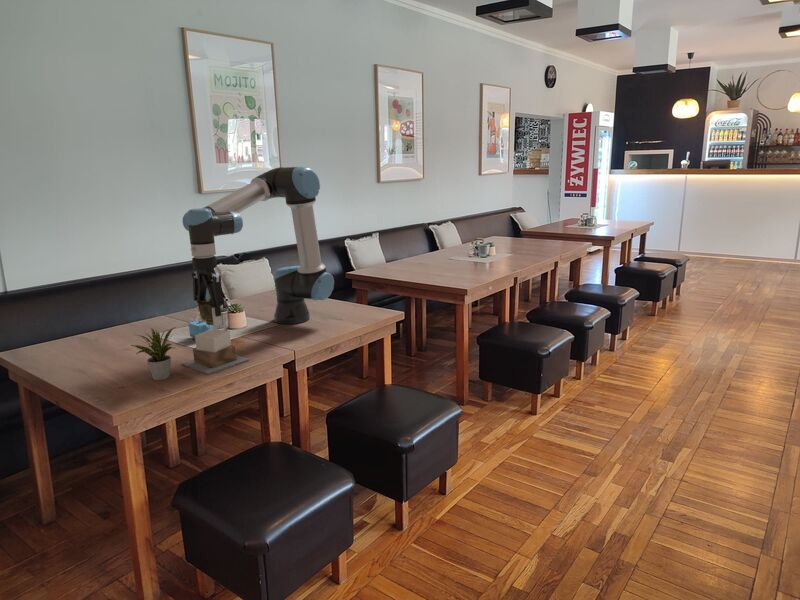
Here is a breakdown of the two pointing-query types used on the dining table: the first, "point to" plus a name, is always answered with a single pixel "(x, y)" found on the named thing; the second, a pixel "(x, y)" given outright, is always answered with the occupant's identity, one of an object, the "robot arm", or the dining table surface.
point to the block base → (215, 357)
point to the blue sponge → (198, 327)
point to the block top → (213, 340)
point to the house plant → (157, 355)
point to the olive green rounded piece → (206, 311)
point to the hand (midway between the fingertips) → (211, 323)
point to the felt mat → (212, 370)
